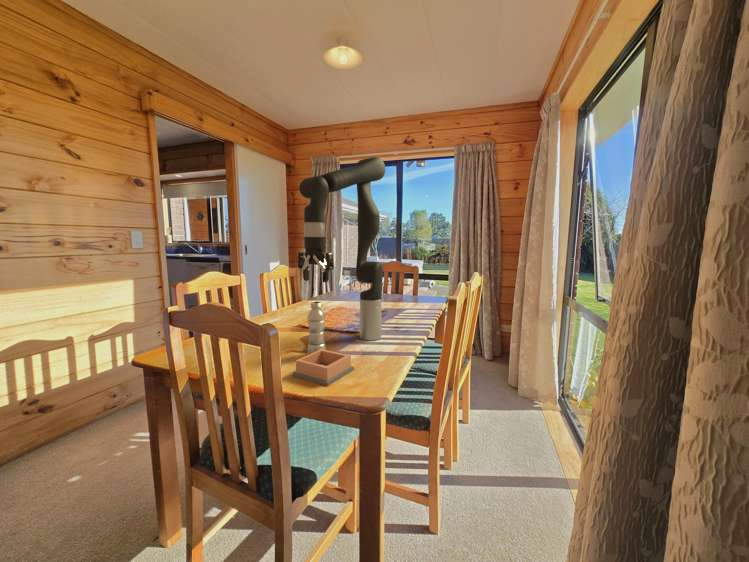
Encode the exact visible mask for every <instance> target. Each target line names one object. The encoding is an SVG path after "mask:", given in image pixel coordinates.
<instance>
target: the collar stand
mask: <svg viewBox="0 0 749 562" xmlns="http://www.w3.org/2000/svg"><path fill="white" fill-rule="evenodd" d="M351 361H352V360H351V355H349V354H346V353H341V352H336V351H331V350H327V349H326V350H323V349H320V350H318V351H316V352H313V353H311V354H309V353H308V354H307V355H305V356H303V357H301V358H299V359H296V360H295V371H294V372H292V377H294V378H295V377H296V378H299V379H301V380H305V381H309V382H312V383H316V384H319V385H323V386H326V387H329V386H330V385H332V384H334V383H335V382H337V381H338V380H340V379H342V378H343V377H345V376H346V375H348V374H350V373H352V372H353V371H355V366H352V365H351V364H352V363H351Z"/></svg>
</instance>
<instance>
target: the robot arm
mask: <svg viewBox="0 0 749 562" xmlns="http://www.w3.org/2000/svg"><path fill="white" fill-rule="evenodd" d="M385 174H386V165H385V162H384V160H383V159H381V158H380V157H377V156H373V157H368V158H363V159H360V160H358V161H357V163H356V165H355V166H351V167H345V168H340V169H336V170H333V171H329V172H327V173H323V174H322V175H315V176H310V177H307V178H304V179H303V180H301V182H300V184H299V186H298V190H299V193H300V195H301V196H302V197H304V198H305V199H309V200H310V202H309V204H308V205H306V206H305V207H304V209H303V213H304V214H303V215H304V216H303V220H304V221H303V248H304V249H305V251H298V255H297V269H301V270H302V278H303V281H305V282H308V281H310V268H311V266H313V265H315V266H316V265H317V266H318V267H319V268H320V270H321V271H322V272H321V275H322V281H321V282H323V283H328V282H329V278H330V277H329V276H330V275H329V274H330V271H333V270H334V268H335V267H334V254H333V252H326V251H325V250H326V248H327V247H326V246H327V244H326V243H327V241H326V238H327V237H326V233H327V232H326V224H325V216H326V215H325V211H326V208H327V207H326V206H327V202H328V196H329V193H330V194H331V193H335V192H338V191H341V190H344V189H346V188H348V187H351V186H352V187H353V186H355V185H356V193H357V195H356V196H357V252H356V253H357V255H356V267H355V274H356V275H355V277H356V281H358V283H364V284H371V287H370V288H369V289H365V290H363V291H361V292H360V293H359V338H360V339H361V340H363V341H378V340H380V339H381V338H382V332H383V331H382V325H383V324H382V323H383V322H382V321H383V316H382V293H383V280H384V279H383V277H384V276H383V275H384V267H383V264H382V263H381V262H380V261H370V260H368V259H367V258H368V254H369V249H370V248H371V246H372V245H373V242H374V241H375V240H376V237H377V236H378V234H379V232H380V225H381V224H380V221H381V220H380V218H381V217H380V212H379V209H378V207H377V204H376V203H375V201H374V199H373V196H372V191H371V184H372V183H371V182H378V181H380V180H381V179H382V178H384V176H385Z"/></svg>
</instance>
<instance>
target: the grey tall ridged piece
mask: <svg viewBox="0 0 749 562" xmlns="http://www.w3.org/2000/svg"><path fill="white" fill-rule="evenodd" d="M310 309H311V310H310V311H309V312H308V314H307V318H306V319H307V324H308V330H309V331H308V333H309V338H308V345H307V353H308V355H309V354H311V353H313V352H316V351H318V350H320V349H323V350H327V348H326V347H327V346H326V342H325V323H326V314H325V312H324V311H323V309H322V301H311V302H310Z"/></svg>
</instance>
